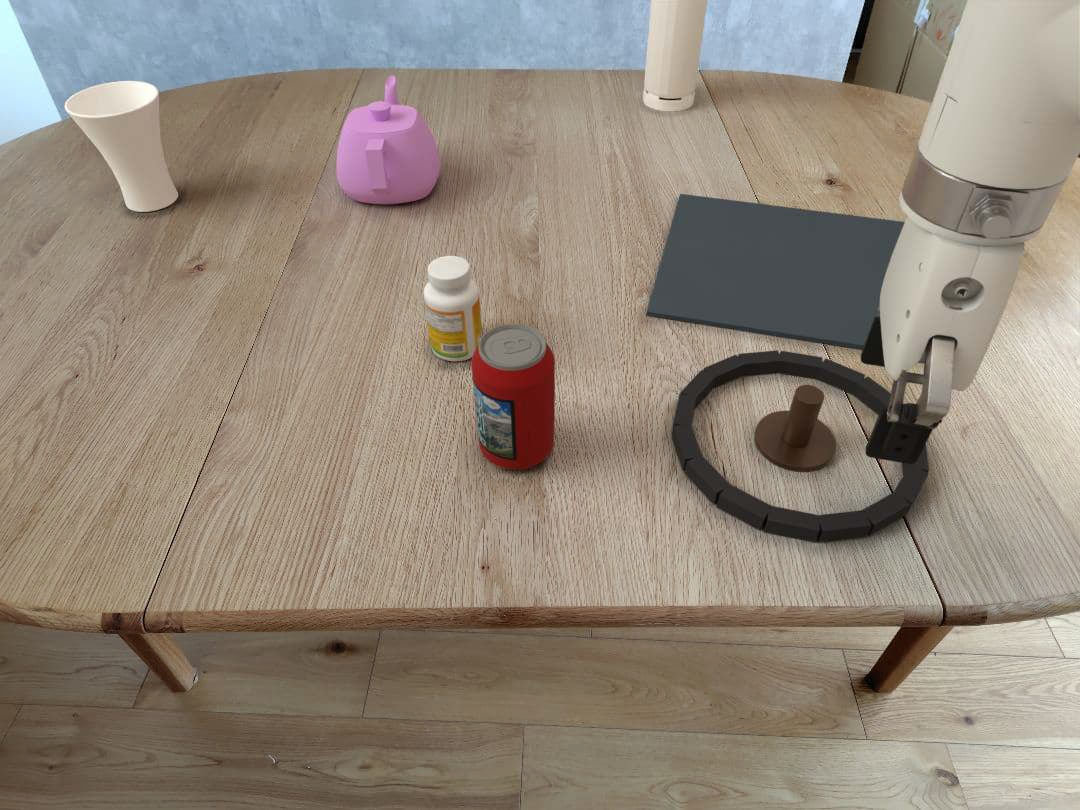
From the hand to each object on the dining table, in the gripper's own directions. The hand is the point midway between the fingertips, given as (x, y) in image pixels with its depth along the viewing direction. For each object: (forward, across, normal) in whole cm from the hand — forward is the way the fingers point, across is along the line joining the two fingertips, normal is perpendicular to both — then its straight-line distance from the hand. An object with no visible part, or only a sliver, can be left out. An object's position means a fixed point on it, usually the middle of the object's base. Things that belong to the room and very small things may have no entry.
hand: (885, 407), depth 54 cm
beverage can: (+13, +1, +28) cm, 31 cm away
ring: (+12, +8, +4) cm, 15 cm away
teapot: (+12, +43, +58) cm, 73 cm away
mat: (+12, +36, +6) cm, 38 cm away
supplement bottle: (+12, +13, +38) cm, 42 cm away
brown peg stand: (+12, +8, +4) cm, 15 cm away
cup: (+12, +31, +87) cm, 93 cm away
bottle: (+12, +79, +25) cm, 84 cm away
